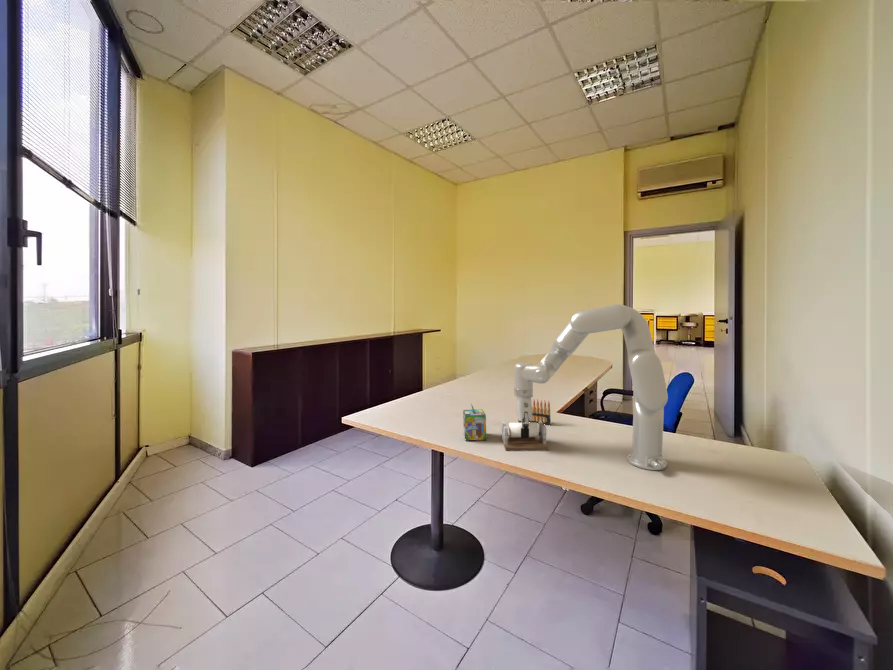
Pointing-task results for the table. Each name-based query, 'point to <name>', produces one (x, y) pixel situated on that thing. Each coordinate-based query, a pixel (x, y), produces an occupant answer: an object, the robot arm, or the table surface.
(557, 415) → the table surface
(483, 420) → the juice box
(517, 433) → the roll
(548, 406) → the ammunition clip
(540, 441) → the holder
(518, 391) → the robot arm
